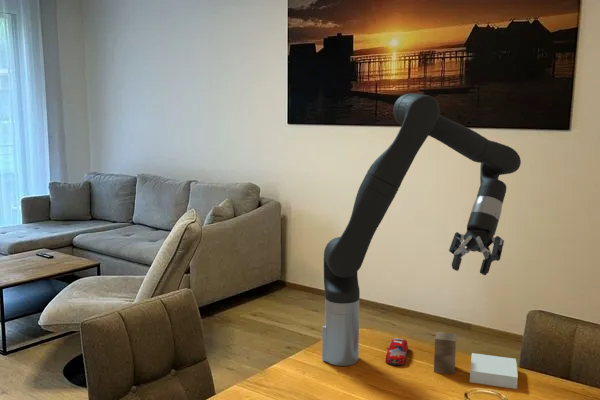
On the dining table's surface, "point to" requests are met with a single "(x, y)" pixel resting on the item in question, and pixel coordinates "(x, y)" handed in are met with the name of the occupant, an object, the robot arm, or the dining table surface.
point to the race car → (397, 351)
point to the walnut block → (445, 353)
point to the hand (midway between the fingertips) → (468, 271)
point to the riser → (493, 370)
